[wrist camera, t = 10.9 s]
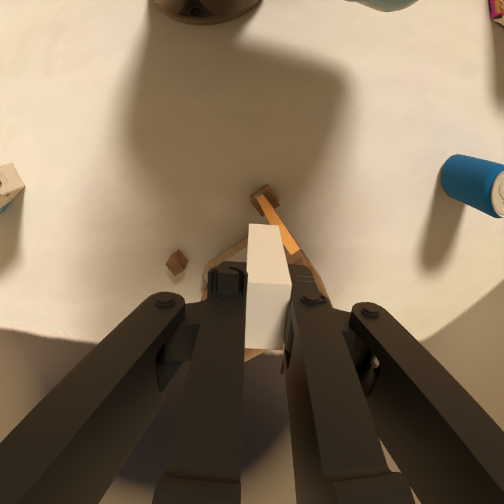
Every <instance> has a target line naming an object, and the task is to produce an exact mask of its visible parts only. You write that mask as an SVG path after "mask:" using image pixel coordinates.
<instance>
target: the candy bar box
mask: <svg viewBox="0 0 504 504" xmlns="http://www.w3.org/2000/svg"><path fill="white" fill-rule="evenodd" d="M489 4H490V11H491V19H492V20H493V21H494V22H496V23H498V24H500V25H501V26H503V27H504V0H489Z"/></svg>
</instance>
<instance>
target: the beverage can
mask: <svg viewBox="0 0 504 504" xmlns="http://www.w3.org/2000/svg"><path fill="white" fill-rule="evenodd" d="M441 182H442V186H443V189H444V191H445V192H446V193H447V195H449V196H450V197H452V198H454V199H456V200H458V201H461V202H463V203H465V204H467V205H469V206H471V207H474V208H476V209H478V210H480V211H482V212H484V213H486V214H488V215H490V216H492V217H494V218H504V165H503V164H499V163H495V162H491V161H487V160H483V159H478V158H474V157H470V156H465V155H460V154H456V155H453V156H451V157H450V158H448V159H447V161H446V162H445V164H444V166H443V168H442V172H441Z"/></svg>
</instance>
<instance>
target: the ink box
mask: <svg viewBox="0 0 504 504" xmlns="http://www.w3.org/2000/svg"><path fill="white" fill-rule="evenodd" d="M24 187H25V185H24V183H23V181H22V179H21V178H20V176H19V174H18V172H17V170H16V168H15V166H14V164H13V163H9V164H5V165H1V166H0V213H1V212H2V211H3V210H4V209H5V208H6V207H7V205H8V204H9V203H10V202H11V201H12V200H13V199H14V198H15V197H16V195H17V194H18V193H19V192H20V191H21V190H22V189H23V188H24Z"/></svg>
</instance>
